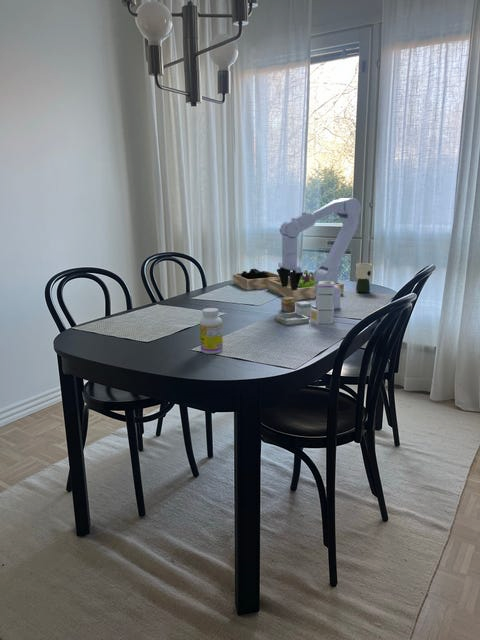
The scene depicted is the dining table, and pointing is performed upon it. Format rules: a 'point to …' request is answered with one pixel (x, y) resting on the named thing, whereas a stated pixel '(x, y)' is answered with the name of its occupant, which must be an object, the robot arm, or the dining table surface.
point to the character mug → (363, 276)
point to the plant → (306, 281)
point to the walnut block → (288, 304)
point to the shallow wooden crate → (253, 281)
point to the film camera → (254, 274)
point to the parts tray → (291, 318)
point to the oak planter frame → (300, 292)
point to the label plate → (314, 316)
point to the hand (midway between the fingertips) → (289, 288)
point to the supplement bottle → (211, 331)
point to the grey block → (303, 308)
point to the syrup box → (326, 302)
